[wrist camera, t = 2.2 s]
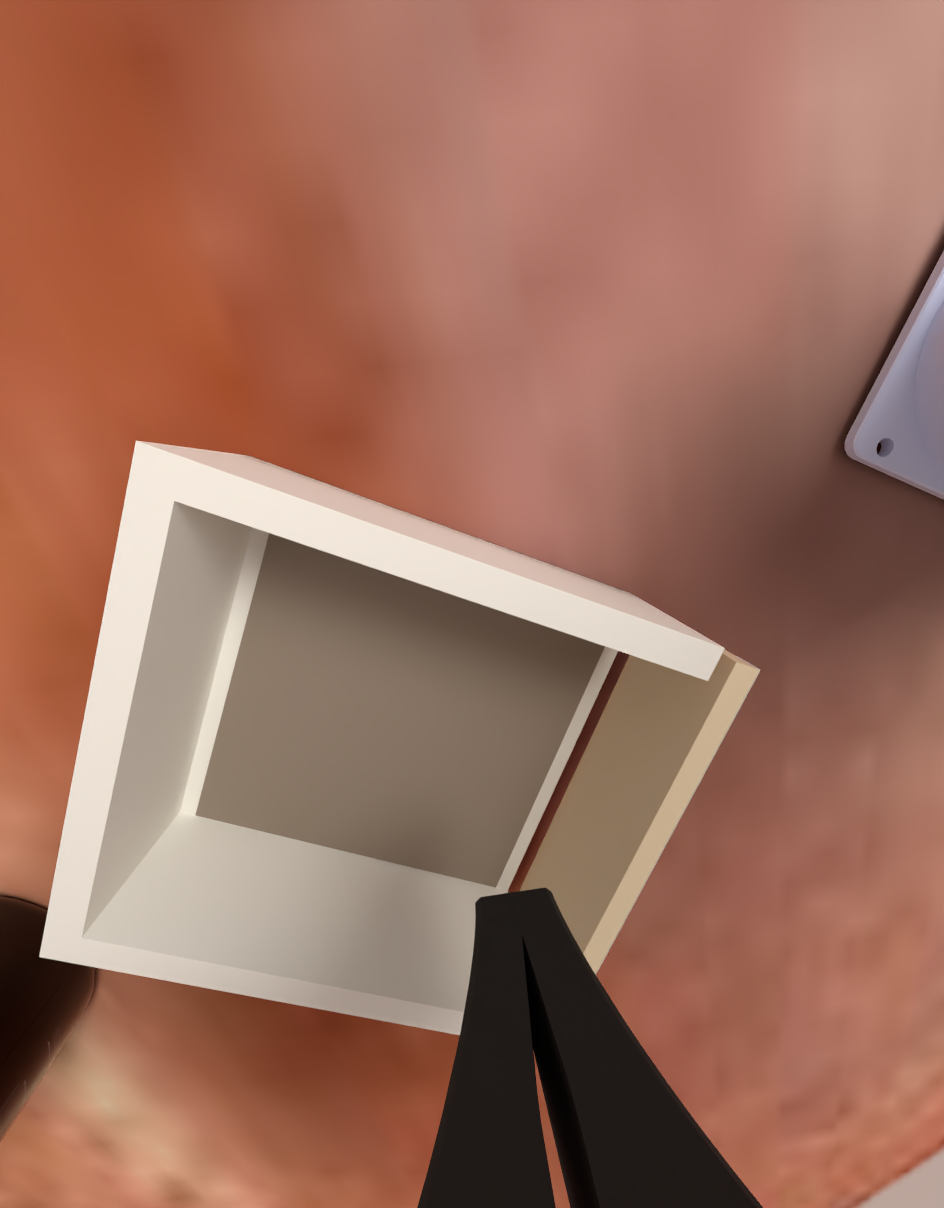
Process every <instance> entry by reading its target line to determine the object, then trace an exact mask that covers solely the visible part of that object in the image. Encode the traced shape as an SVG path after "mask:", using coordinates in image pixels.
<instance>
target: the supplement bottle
mask: <svg viewBox="0 0 944 1208" xmlns="http://www.w3.org/2000/svg"><path fill="white" fill-rule="evenodd" d="M47 912H48V911H47V910H45V909H43V908H41V907H39V906H36V905H34V904H31V903H28V902H25V901H21V900H18V899H13V898H8V897H2V896H0V1142H1V1141H2V1139H3V1138H4V1136H5V1135H6V1133H7V1132H8V1130H9V1129H10V1127H11V1125H12V1124H13V1122H14V1121H15V1119H16V1118H17V1116H18V1115H19V1113H20V1112H21V1110H22V1109H23V1107H24V1105H25V1104H26V1102H27V1101H28V1099H29V1098H30V1096H31V1095H32V1093H33V1092H34V1090H35V1089H36V1087H37V1085H38V1084H39V1082H40V1081H41V1079H42V1078H43V1076H44V1075H45V1073H46V1072H47V1070H48V1068H49V1067H50V1065H51V1064H52V1062H53V1061H54V1059H55V1058H56V1056H57V1055H58V1053H59V1052H60V1050H61V1048H62V1047H63V1045H64V1044H65V1042H66V1040H67V1039H68V1037H69V1036H70V1034H71V1032H72V1031H73V1029H74V1028H75V1026H76V1025H77V1023H78V1021H79V1020H80V1018H81V1016H82V1015H83V1013H84V1011H85V1010H86V1008H87V1006H88V1004H89V1001H90V999H91V996H92V992H93V989H94V980H95V971H94V967H90V966H85V965H79V964H74V963H69V962H63V961H58V960H52V959H47V958H42V957H39V955H40V949H41V944H42V939H43V934H44V928H45V923H46V918H47Z"/></svg>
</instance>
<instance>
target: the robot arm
mask: <svg viewBox="0 0 944 1208" xmlns="http://www.w3.org/2000/svg"><path fill="white" fill-rule="evenodd" d="M879 442H881V450H880V452H879V454H877V451H876V448H877V445H878V443H879ZM845 451H846V453H847V455H848V456H849V457H850V458H852V459H854V460H856V461H858V462H860V463H863V464H865V465H867V466H869V467H872V468H874V469H876V470H878V471H880V472H883V473H885V474H887V475H889V476H892V477H894V478H896V479H898V480H901V481H903V482H905V483H907V484H910V485H912V486H914V487H916V488H919V489H921V490H923V491H925V492H928V493H930V494H932V495H934V496H937V497H939V498H941V499H943V500H944V251H943V253H942V255H941V256H940V258H939V260H938V262H937V264H936V266H935V268H934V270H933V272H932V274H931V276H930V278H929V279H928V281H927V283H926V285H925V287H924V289H923V291H922V293H921V295H920V297H919V299H918V301H917V302H916V304H915V306H914V308H913V310H912V312H911V314H910V316H909V318H908V320H907V322H906V324H905V325H904V327H903V329H902V331H901V333H900V335H899V337H898V339H897V341H896V343H895V345H894V347H893V348H892V350H891V352H890V354H889V356H888V358H887V360H886V362H885V364H884V366H883V368H882V370H881V371H880V373H879V375H878V377H877V379H876V381H875V383H874V385H873V387H872V389H871V391H870V393H869V394H868V396H867V398H866V400H865V402H864V404H863V406H862V408H861V410H860V412H859V414H858V416H857V417H856V419H855V421H854V423H853V425H852V427H851V429H850V431H849V433H848V435H847V437H846V440H845ZM475 915H476V917H475V937H474V948H473V957H472V965H471V972H470V980H469V986H468V992H467V998H466V1003H465V1009H464V1015H463V1021H462V1026H461V1032H460V1037H459V1042H458V1047H457V1052H456V1056H455V1060H454V1065H453V1069H452V1074H451V1078H450V1083H449V1087H448V1092H447V1096H446V1101H445V1105H444V1109H443V1114H442V1118H441V1122H440V1126H439V1130H438V1134H437V1138H436V1141H435V1145H434V1149H433V1153H432V1157H431V1161H430V1164H429V1168H428V1172H427V1175H426V1179H425V1183H424V1186H423V1190H422V1193H421V1197H420V1201H419V1204H418V1208H556V1207H555V1202H554V1196H553V1190H552V1184H551V1178H550V1172H549V1167H548V1161H547V1155H546V1149H545V1143H544V1137H543V1131H542V1126H541V1119H540V1111H539V1103H538V1096H537V1085H536V1075H535V1064H534V1054H535V1058H536V1063H537V1067H538V1071H539V1075H540V1080H541V1084H542V1088H543V1093H544V1097H545V1101H546V1105H547V1110H548V1114H549V1118H550V1122H551V1126H552V1131H553V1135H554V1139H555V1143H556V1148H557V1152H558V1156H559V1160H560V1165H561V1169H562V1173H563V1177H564V1182H565V1186H566V1190H567V1194H568V1198H569V1203H570V1207H571V1208H763V1207H762V1206H761V1205H760V1203H759V1202H758V1201H757V1200H756V1198H755V1197H754V1196H753V1195H752V1193H751V1192H750V1191H749V1190H748V1188H747V1187H746V1186H745V1185H744V1183H743V1182H742V1181H741V1180H740V1178H739V1177H738V1176H737V1175H736V1173H735V1172H734V1171H733V1170H732V1168H731V1167H730V1166H729V1164H728V1163H727V1162H726V1161H725V1159H724V1158H723V1157H722V1155H721V1154H720V1153H719V1151H718V1150H717V1149H716V1148H715V1146H714V1145H713V1144H712V1142H711V1141H710V1140H709V1138H708V1137H707V1136H706V1135H705V1133H704V1132H703V1131H702V1129H701V1128H700V1127H699V1125H698V1124H697V1123H696V1121H695V1120H694V1119H693V1117H692V1116H691V1115H690V1113H689V1112H688V1111H687V1109H686V1108H685V1107H684V1105H683V1104H682V1102H681V1101H680V1100H679V1098H678V1097H677V1096H676V1094H675V1093H674V1091H673V1090H672V1089H671V1087H670V1086H669V1085H668V1083H667V1082H666V1080H665V1079H664V1077H663V1076H662V1075H661V1073H660V1072H659V1070H658V1069H657V1067H656V1066H655V1065H654V1063H653V1062H652V1060H651V1059H650V1057H649V1056H648V1055H647V1053H646V1052H645V1050H644V1049H643V1047H642V1046H641V1045H640V1043H639V1042H638V1040H637V1039H636V1037H635V1036H634V1034H633V1033H632V1031H631V1030H630V1028H629V1027H628V1025H627V1024H626V1022H625V1021H624V1019H623V1018H622V1016H621V1014H620V1013H619V1011H618V1010H617V1008H616V1006H615V1005H614V1003H613V1002H612V1000H611V999H610V997H609V995H608V994H607V992H606V991H605V989H604V988H603V986H602V984H601V983H600V981H599V980H598V978H597V976H596V975H595V973H594V971H593V970H592V968H591V966H590V965H589V963H588V961H587V960H586V958H585V956H584V954H583V953H582V951H581V949H580V947H579V946H578V944H577V942H576V940H575V939H574V937H573V935H572V933H571V931H570V929H569V927H568V925H567V924H566V922H565V920H564V918H563V916H562V914H561V912H560V909H559V907H558V905H557V903H556V901H555V899H554V896H553V894H552V892H551V891H550V890H548V889H547V888H546V887H545V888H538V889H531V890H525V891H518V892H511V893H504V894H498V895H491V896H484V897H480V898H479V899H478V900H477V901H476V903H475ZM533 1050H534V1054H533Z"/></svg>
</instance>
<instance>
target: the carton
mask: <svg viewBox="0 0 944 1208" xmlns="http://www.w3.org/2000/svg"><path fill="white" fill-rule="evenodd" d="M724 649H725V648H724V647H722V646H720V645H719V644H717V643H715V642H714V641H712V640H710V639H708V638H707V637H705V636H703V635H702V634H700V633H698V632H696V631H695V630H693V629H691V628H690V627H688V626H686V625H684V624H683V623H681V622H679V621H678V620H676V619H674V618H672V617H671V616H669V615H667V614H666V613H664V612H662V611H660V610H659V609H657V608H655V607H654V606H652V605H650V604H648V603H647V602H645V601H643V600H642V599H640V598H638V597H636V596H635V595H633V594H631V593H629V592H626V591H623V590H620V589H617V588H615V587H612V586H609V585H606V584H604V583H601V582H598V581H595V580H592V579H590V578H587V577H584V576H581V575H579V574H576V573H573V572H570V571H567V570H565V569H562V568H559V567H556V566H554V565H551V564H548V563H545V562H543V561H540V560H537V559H534V558H531V557H529V556H526V555H523V554H520V553H518V552H515V551H512V550H509V549H506V548H504V547H501V546H498V545H495V544H493V543H490V542H487V541H484V540H481V539H479V538H476V537H473V536H470V535H468V534H465V533H462V532H459V531H456V530H454V529H451V528H448V527H445V526H443V525H440V524H437V523H434V522H432V521H429V520H426V519H423V518H420V517H418V516H415V515H412V514H409V513H407V512H404V511H401V510H398V509H395V508H393V507H390V506H387V505H384V504H382V503H379V502H376V501H373V500H370V499H368V498H365V497H362V496H359V495H357V494H354V493H351V492H348V491H345V490H343V489H340V488H337V487H334V486H332V485H329V484H326V483H323V482H321V481H318V480H315V479H312V478H309V477H307V476H304V475H301V474H298V473H296V472H293V471H290V470H287V469H284V468H282V467H279V466H276V465H273V464H271V463H268V462H265V461H262V460H259V459H257V458H254V457H251V456H247V455H240V454H232V453H225V452H218V451H210V450H203V449H195V448H188V447H180V446H173V445H165V444H158V443H150V442H143V441H136V444H135V449H134V454H133V460H132V465H131V470H130V476H129V481H128V486H127V492H126V497H125V502H124V508H123V513H122V518H121V524H120V529H119V534H118V540H117V545H116V550H115V556H114V561H113V566H112V572H111V577H110V582H109V588H108V593H107V598H106V604H105V609H104V614H103V619H102V625H101V630H100V635H99V641H98V646H97V651H96V657H95V662H94V667H93V673H92V678H91V683H90V689H89V694H88V699H87V705H86V710H85V715H84V721H83V726H82V731H81V737H80V742H79V747H78V753H77V758H76V763H75V769H74V774H73V779H72V784H71V790H70V795H69V800H68V806H67V811H66V816H65V822H64V827H63V832H62V838H61V843H60V848H59V854H58V859H57V864H56V870H55V875H54V880H53V886H52V891H51V896H50V902H49V907H48V912H47V918H46V923H45V928H44V934H43V939H42V944H41V949H40V955H39V957H42V958H47V959H52V960H58V961H63V962H69V963H74V964H79V965H85V966H90V967H95V968H101V969H106V970H112V971H117V972H122V973H128V974H133V975H138V976H144V977H149V978H155V979H160V980H165V981H171V982H176V983H181V984H187V985H192V986H198V987H203V988H208V989H214V990H219V991H224V992H230V993H235V994H241V995H246V996H251V997H257V998H262V999H267V1000H273V1001H278V1002H284V1003H289V1004H294V1005H300V1006H305V1007H310V1008H316V1009H321V1010H327V1011H332V1012H337V1013H343V1014H348V1015H353V1016H359V1017H364V1018H370V1019H375V1020H380V1021H386V1022H391V1023H396V1024H402V1025H407V1026H413V1027H418V1028H423V1029H429V1030H434V1031H439V1032H445V1033H450V1034H456V1035H460V1032H461V1026H462V1021H463V1015H464V1009H465V1003H466V998H467V992H468V986H469V980H470V972H471V965H472V957H473V948H474V937H475V917H476V915H475V903H476V901H477V900H478V899H479V898H480V897H484V896H491V895H498V894H504V893H508V889H509V887H510V885H511V882H512V880H513V878H514V876H515V874H516V872H517V869H518V867H519V865H520V863H521V861H522V859H523V856H524V854H525V852H526V850H527V848H528V846H529V843H530V841H531V839H532V837H533V835H534V833H535V830H536V828H537V826H538V824H539V822H540V820H541V817H542V815H543V813H544V811H545V809H546V806H547V804H548V802H549V800H550V798H551V796H552V793H553V791H554V789H555V787H556V785H557V783H558V780H559V778H560V776H561V774H562V772H563V770H564V767H565V765H566V763H567V761H568V759H569V757H570V754H571V752H572V750H573V748H574V746H575V744H576V741H577V739H578V737H579V735H580V733H581V731H582V728H583V726H584V724H585V722H586V720H587V718H588V715H589V713H590V711H591V709H592V707H593V705H594V702H595V700H596V698H597V696H598V694H599V691H600V689H601V687H602V685H603V683H604V681H605V678H606V676H607V674H608V672H609V670H610V668H611V665H612V663H613V661H614V659H615V657H616V655H617V652H618V651H620V652H623V653H626V654H629V655H632V656H635V657H638V658H641V659H644V660H647V661H650V662H653V663H656V664H659V665H662V666H665V667H668V668H671V669H674V670H677V671H680V672H683V673H685V674H688V675H691V676H694V677H697V678H700V679H703V680H706V681H708V680H709V678H710V676H711V674H712V672H713V670H714V669H715V667H716V665H717V663H718V661H719V659H720V657H721V655H722V653H723V651H724Z"/></svg>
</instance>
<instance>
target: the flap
mask: <svg viewBox="0 0 944 1208" xmlns="http://www.w3.org/2000/svg"><path fill="white" fill-rule="evenodd" d="M759 672H760V669H759V668H757V667H755V666H754V665H752V664H750V663H748V662H747V661H745V660H743V659H742V658H740V657H738V656H735V655H733V654H732V653H730V652H728V651H727V650H725V649H724V651H723V653H722V655H721V657H720V659H719V661H718V663H717V665H716V667H715V669H714V670H713V672H712V674H711V676H710V678H709V680H708V681H706V680H703V679H700V678H697V677H694V676H691V675H688V674H685V673H683V672H680V671H677V670H674V669H671V668H668V667H665V666H662V665H659V664H656V663H653V662H650V661H647V660H644V659H641V658H638V657H635V656H632V655H629V657H628V659H627V662H626V664H625V666H624V668H623V670H622V672H621V674H620V677H619V679H618V681H617V683H616V685H615V687H614V689H613V692H612V694H611V696H610V698H609V700H608V702H607V704H606V706H605V709H604V711H603V713H602V715H601V717H600V719H599V721H598V724H597V726H596V728H595V730H594V732H593V734H592V736H591V739H590V741H589V743H588V745H587V747H586V749H585V751H584V754H583V756H582V758H581V760H580V762H579V764H578V766H577V768H576V771H575V773H574V775H573V777H572V779H571V781H570V783H569V786H568V788H567V790H566V792H565V794H564V796H563V798H562V801H561V803H560V805H559V807H558V809H557V811H556V813H555V816H554V818H553V820H552V822H551V824H550V826H549V828H548V830H547V833H546V835H545V837H544V839H543V841H542V843H541V845H540V848H539V850H538V852H537V854H536V856H535V858H534V860H533V863H532V865H531V867H530V869H529V871H528V873H527V875H526V877H525V880H524V882H523V884H522V886H521V888H520V890H519V891H525V890H531V889H538V888H545V887H546V888H547V889H548V890H550V891H551V892H552V894H553V896H554V899H555V901H556V903H557V905H558V907H559V909H560V912H561V914H562V916H563V918H564V920H565V922H566V924H567V925H568V927H569V929H570V931H571V933H572V935H573V937H574V939H575V940H576V942H577V944H578V946H579V947H580V949H581V951H582V953H583V954H584V956H585V958H586V960H587V961H588V963H589V965H590V966H591V968H592V970H593V971H594V973H595V975H596V974H597V972H598V970H599V968H600V966H601V964H602V963H603V961H604V959H605V957H606V955H607V953H608V952H609V950H610V948H611V946H612V944H613V942H614V940H615V939H616V937H617V935H618V933H619V931H620V929H621V927H622V926H623V924H624V922H625V920H626V918H627V916H628V915H629V913H630V911H631V909H632V907H633V905H634V903H635V902H636V900H637V898H638V896H639V894H640V892H641V891H642V889H643V887H644V885H645V883H646V881H647V879H648V878H649V876H650V874H651V872H652V870H653V868H654V866H655V865H656V863H657V861H658V859H659V857H660V855H661V854H662V852H663V850H664V848H665V846H666V844H667V842H668V841H669V839H670V837H671V835H672V833H673V831H674V829H675V828H676V826H677V824H678V822H679V820H680V818H681V817H682V815H683V813H684V811H685V809H686V807H687V805H688V804H689V802H690V800H691V798H692V796H693V794H694V793H695V791H696V789H697V787H698V785H699V783H700V781H701V780H702V778H703V776H704V774H705V772H706V770H707V768H708V767H709V765H710V763H711V761H712V759H713V757H714V756H715V754H716V752H717V750H718V748H719V746H720V744H721V743H722V741H723V739H724V737H725V735H726V733H727V732H728V730H729V728H730V726H731V724H732V722H733V720H734V719H735V717H736V715H737V713H738V711H739V709H740V707H741V706H742V704H743V702H744V700H745V698H746V696H747V695H748V693H749V691H750V689H751V687H752V685H753V683H754V682H755V680H756V678H757V676H758V674H759Z"/></svg>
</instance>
